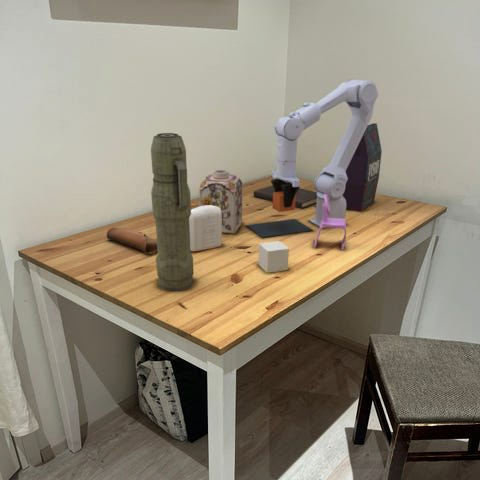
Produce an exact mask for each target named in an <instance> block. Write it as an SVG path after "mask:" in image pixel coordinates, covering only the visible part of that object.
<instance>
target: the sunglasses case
mask: <svg viewBox="0 0 480 480" xmlns="http://www.w3.org/2000/svg"><path fill="white" fill-rule="evenodd" d="M106 239H108V240H110V241H115V242H119V243H122V244H123V245H127V246H130V247H132V248H135V249H137V250H140V251H142V252H145V253H147V254H148V255H152V254H155V253H158V248H157V239H155V238H153V237H151V236H148V235H147V234H146V233H144V232H142V231H139V230H134V229H130V228H126V227H111V228H109V229H108V230H107V232H106Z"/></svg>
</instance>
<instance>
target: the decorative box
mask: <svg viewBox="0 0 480 480" xmlns="http://www.w3.org/2000/svg"><path fill="white" fill-rule="evenodd" d="M382 152H383V151H382V145H381V140H380V133H379V128H378V123H375V122H373V123H369V124H368V126H367V128H366V130H365V132H364V134H363V136H362V138H361V140H360V142H359V144H358V146H357V149H356V151H355V153H354V155H353V157H352V159H351V161H350V163H349V165H348V167H347V169H346V175H347V178H348V180H347V182H346V185H345V191H344V193H343V195H342V196H343V197H344V198H345V200H346V210H350V211H355V212H362V211H363V210H365V209H366V208H368V207H369V206H370V205H372V204H373V203H374V202H375V198H376V194H377V189H378V184H379V179H380V170H381V161H382Z"/></svg>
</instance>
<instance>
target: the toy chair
mask: <svg viewBox="0 0 480 480" xmlns="http://www.w3.org/2000/svg"><path fill="white" fill-rule="evenodd" d="M324 201H325V203H323V220H322V221H321V224H320V227H318V231H317V234H316V237H315V240H314V248H317V244H318V241H319V237H320V233H321V231H322V229H323V228H335V229H341V230H344V235H343V238H342V240H341V251H343V250H344V247H345V243H346V240H347V224H346V218H345V219H336V218H328V215H330V213H329V212H330V205H329V197H328V195H327V194H324Z"/></svg>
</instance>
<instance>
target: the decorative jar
mask: <svg viewBox="0 0 480 480" xmlns="http://www.w3.org/2000/svg"><path fill="white" fill-rule="evenodd" d="M198 196H199V199H198V202H199V203H198V204H199V207H200V206H205V205H213V206H217V207H219V208H220V209H221V213H222V234H228V235H229V234H230V235H236V233H237V232H238V230H239V228H240V227H241V225H242V223H243V182H242V180H241V178H240V177H238V176H237V175H235V174H232V173H231V174H230V172H229V170H227V169H214V170H213V174H208V175H205V176H203V178H202V180H201V183H200V186H199V188H198Z"/></svg>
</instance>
